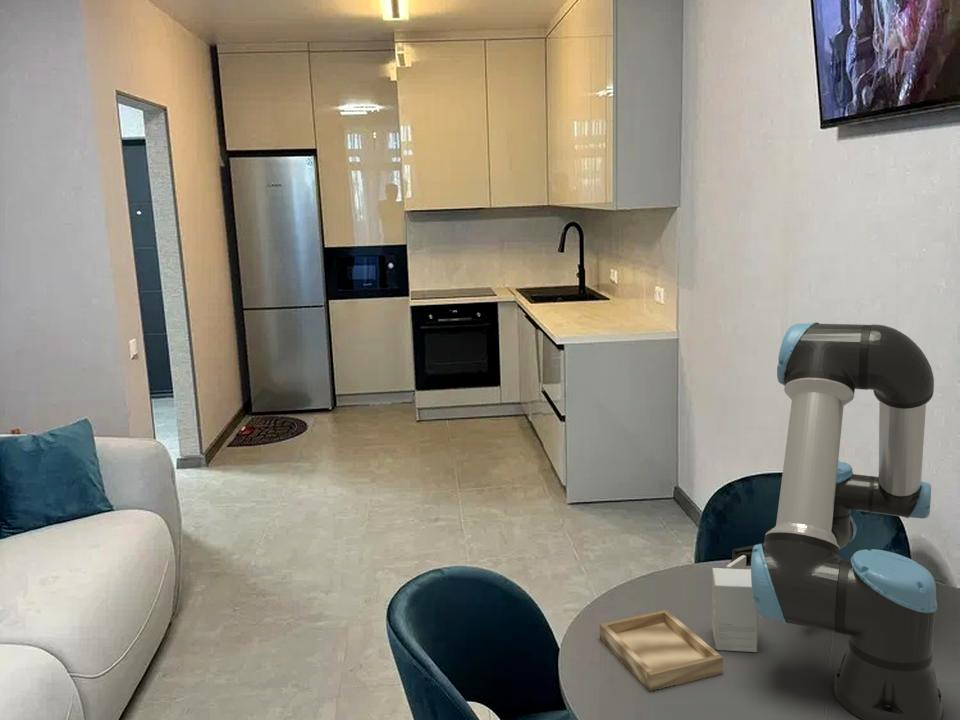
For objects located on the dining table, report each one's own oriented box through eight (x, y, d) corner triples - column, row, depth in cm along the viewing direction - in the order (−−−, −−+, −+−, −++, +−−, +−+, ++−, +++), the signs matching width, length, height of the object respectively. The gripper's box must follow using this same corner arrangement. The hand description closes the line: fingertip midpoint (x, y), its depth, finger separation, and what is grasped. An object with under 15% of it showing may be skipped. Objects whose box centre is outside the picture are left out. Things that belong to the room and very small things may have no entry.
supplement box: (752, 632, 146) (753, 568, 144) (757, 653, 139) (759, 587, 137) (711, 629, 148) (711, 566, 145) (714, 650, 140) (715, 584, 138)
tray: (722, 673, 133) (723, 657, 133) (650, 691, 129) (650, 675, 128) (665, 623, 150) (665, 609, 150) (599, 638, 146) (599, 623, 145)
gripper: (872, 582, 155) (826, 624, 140) (753, 548, 172) (701, 581, 158) (874, 547, 153) (827, 585, 139) (754, 515, 171) (702, 546, 157)
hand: (760, 583), depth 149 cm, fingers open, 13 cm apart
